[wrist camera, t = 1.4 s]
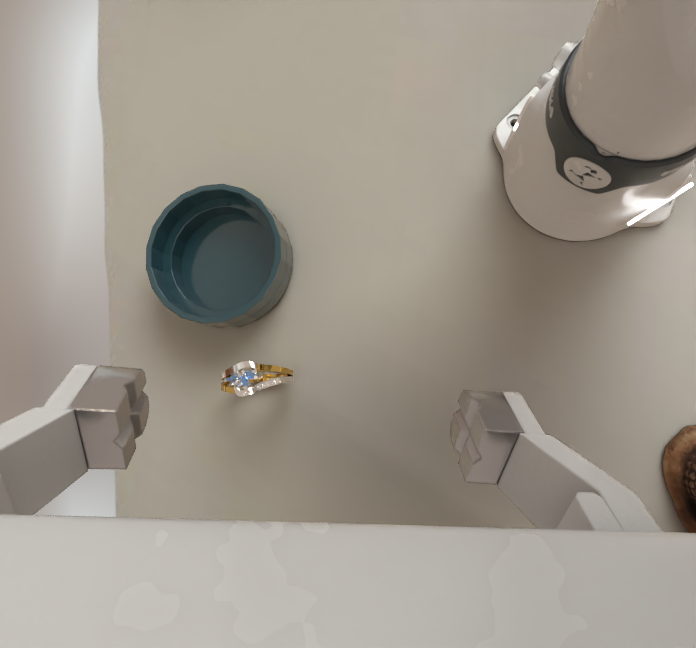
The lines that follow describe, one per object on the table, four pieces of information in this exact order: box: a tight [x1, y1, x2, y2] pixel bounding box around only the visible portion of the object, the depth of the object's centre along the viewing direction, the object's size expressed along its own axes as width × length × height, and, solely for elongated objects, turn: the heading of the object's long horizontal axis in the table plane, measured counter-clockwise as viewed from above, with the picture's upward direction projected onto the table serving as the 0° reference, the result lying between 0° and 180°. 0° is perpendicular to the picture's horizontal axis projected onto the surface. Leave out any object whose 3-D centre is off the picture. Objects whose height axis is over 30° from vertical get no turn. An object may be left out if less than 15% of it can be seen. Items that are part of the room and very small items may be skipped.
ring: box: [220, 361, 293, 397], centre depth 45 cm, size 7×3×8 cm, turn 90°
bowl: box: [146, 184, 292, 328], centre depth 48 cm, size 14×14×5 cm
